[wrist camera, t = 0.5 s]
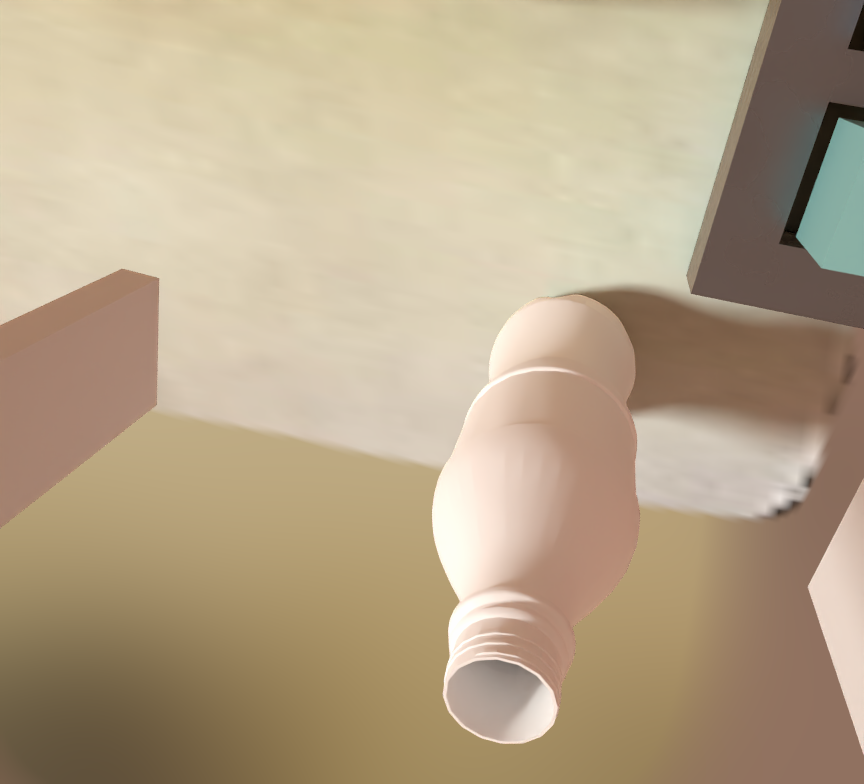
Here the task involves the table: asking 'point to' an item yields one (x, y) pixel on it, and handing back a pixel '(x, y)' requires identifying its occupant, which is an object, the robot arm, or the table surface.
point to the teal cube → (838, 204)
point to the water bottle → (536, 512)
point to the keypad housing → (781, 167)
